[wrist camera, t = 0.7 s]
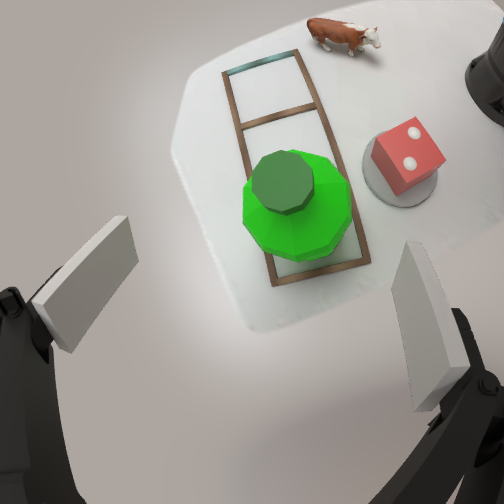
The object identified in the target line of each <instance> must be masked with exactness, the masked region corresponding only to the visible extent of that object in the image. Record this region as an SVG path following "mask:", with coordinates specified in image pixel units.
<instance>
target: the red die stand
mask: <svg viewBox="0 0 504 504" xmlns="http://www.w3.org/2000/svg"><path fill="white" fill-rule="evenodd" d="M445 161H446V159H445V158H444V156H443V155H442V153H441V152H440V150H439V149H438V147H437V146H436V144H435V143H434V141H433V140H432V138H431V137H430V135H429V134H428V133H427V131H426V130H425V128H424V127H423V126H422V124H421V123H420V122H419V120H418V119H417V118H416V117H414V118H412V119H410V120H408V121H407V122H405V123H403V124H401V125H399V126H397V127H395V128H393V129H391V130H389V131H385V132H382V133H380V134H378V135H377V136H375V137H374V138H373V139H372V140H371V141H370V142H369V144H368V145H367V147H366V149H365V152H364V156H363V162H362V169H363V174H364V178H365V181H366V183H367V185H368V187H369V188H370V189H371V191H372V192H373V193H374V194H375V195H376V196H377V197H378V198H379V199H381V200H382V201H384V202H386V203H387V204H390V205H392V206H397V207H411V206H414V205H417V204H419V203H421V202H422V201H423V200H425V199H426V198H427V197H428V196H429V195H430V194H431V193H432V191H433V189H434V187H435V185H436V182H437V174H438V172H437V169H438V168H439V167H440V166H441V165H442V164H443V163H444V162H445Z"/></svg>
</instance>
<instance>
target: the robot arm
mask: <svg viewBox="0 0 504 504" xmlns="http://www.w3.org/2000/svg"><path fill="white" fill-rule="evenodd" d="M465 80H466V84H467V88H468V90H469V92H470V94H471V96H472V98H473V99H474V101H475V102H476V104H477V105H478V106H479V107H480V108H481V110H482V111H483V112H484V113H485V114H486V115H487V116H489V117H490V118H491V119H492V120H494V121H495V122H497V123H499V124H500V125H503V126H504V18H503V23H502V25H501V27H500V29H499V31H498V32H497V34H496V36H495V38H494V40H493V42H492V44H491V46H490V48H489V49H488V51H486V52H485V53H483V54H481V55H480V56H478V57H476V58H475V59H473V60H472V61H471V63H470V64H469V66H468V68H467V70H466V74H465ZM138 261H139V260H138V257H137V253H136V249H135V245H134V241H133V237H132V232H131V228H130V224H129V220H128V216H115V217H114V218H113V219H112V220H110V221H109V222H108V223H107V224H106V225H105V226H104V227H103V228H102V229H101V230H99V232H97V233H96V234H95V235H94V236H93V237H92V238H91V239H90V240H89V241H88V242H87V243H86V244H85V245H84V246H83V247H82V248H81V249H80V250H79V251H78V252H77V253H76V254H75V255H74V256H73V257H72V258H71V259H70V260H69V261H68V262H67V263H66V264H65V265H63V266H62V267H60V268H58V269H57V270H56V271H55V272H54V273H53V274H52V275H51V276H50V278H49V279H48V280H47V281H46V282H45V284H43V285H42V286H41V287H40V288H39V289H38V290H37V292H36V293H35V294H34V295H33V296H32V297H31V298H30V299H29V301H28V302H27V303H25V301H24V299H23V298H22V296H21V294H20V292H19V290H18V289H17V288H16V287H8V288H6V289H4V290H3V291H2V292H0V504H86V502H85V500H84V499H83V498H82V497H81V496H80V494H79V493H78V491H77V489H76V486H75V483H74V479H73V475H72V472H71V468H70V464H69V460H68V455H67V451H66V446H65V442H64V437H63V432H62V426H61V420H60V414H59V407H58V399H57V390H56V382H55V369H54V353H53V348H52V346H51V342H52V341H53V340H54V341H55V342H56V344H57V345H58V347H59V348H60V349H62V350H64V351H67V352H69V353H72V352H73V351H74V349H75V348H76V347H77V345H78V343H79V342H80V341H81V339H82V338H83V336H84V335H85V333H86V332H87V330H88V329H89V327H90V326H91V325H92V323H93V322H94V320H95V319H96V318H97V316H98V315H99V313H100V312H101V311H102V309H103V308H104V306H105V305H106V304H107V302H108V301H109V300H110V298H111V297H112V296H113V294H114V293H115V292H116V290H117V289H118V287H119V286H120V285H121V284H122V282H123V281H124V280H125V278H126V277H127V276H128V274H129V273H130V272H131V271H132V269H133V268H134V267H135V265H136V264H137V263H138ZM391 291H392V294H393V299H394V303H395V307H396V312H397V316H398V320H399V325H400V330H401V335H402V340H403V345H404V350H405V356H406V362H407V368H408V375H409V381H410V389H411V396H412V404H413V412H425V411H432V410H433V409H434V408H435V407H436V406H437V405H438V404H440V409H441V412H440V413H439V414H438V415H437V416H436V417H435V418H434V419H433V420H432V421H431V422H430V423H429V424H428V426H430V425H431V426H430V427H429V429H428V430H427V432H426V433H425V435H424V436H423V438H422V439H421V440H420V442H419V443H418V445H417V446H416V447H415V449H414V450H413V451H412V453H411V454H410V455H409V457H408V458H407V459H406V461H405V462H404V463H403V465H402V466H401V467H400V468H399V470H398V471H397V472H396V473H395V475H394V476H393V477H392V478H391V479H390V480H389V481H388V483H387V484H386V485H385V486H384V487H383V488H382V490H381V491H380V492H379V493H378V494H377V495H376V496H375V497H374V498H373V499H372V500H371V501H370V502H369V504H446V502H447V501H448V499H449V498H450V496H451V495H452V493H453V492H454V490H455V489H456V487H457V485H458V484H459V482H460V480H461V479H462V477H463V475H464V477H463V480H462V483H461V486H460V488H459V491H458V494H457V496H456V499H455V501H454V504H504V387H503V386H501V385H500V382H499V380H498V378H497V377H496V376H495V375H494V374H493V373H491V372H489V371H486V370H485V367H484V364H483V361H482V358H481V355H480V352H479V349H478V346H477V344H476V341H475V339H474V335H473V332H472V331H471V327H470V325H469V322H468V320H467V318H466V316H465V315H464V314H463V313H462V311H461V310H460V309H459V308H450V305H449V303H448V300H447V298H446V295H445V293H444V291H443V288H442V286H441V284H440V281H439V279H438V277H437V275H436V272H435V270H434V268H433V266H432V264H431V261H430V259H429V257H428V255H427V253H426V251H425V249H424V247H423V245H422V243H419V242H411V241H406V244H405V248H404V251H403V254H402V258H401V261H400V264H399V267H398V270H397V273H396V276H395V279H394V282H393V285H392V288H391Z"/></svg>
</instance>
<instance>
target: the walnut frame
mask: <svg viewBox="0 0 504 504" xmlns="http://www.w3.org/2000/svg"><path fill="white" fill-rule="evenodd" d="M290 56H295V58H296V60H297V62H298V64H299V67H300V69H301V71H302V74H303V76H304V78H305V81H306V83H307V85H308V88H309V90H310V93H311V95H312V98H313V100H314V102H313V103H309V104H305V105H302V106H298V107H294V108H291V109H287V110H284V111H280V112H277V113H273V114H270V115H267V116H264V117H260V118H257V119H254V120H251V121H248V122H245V123H242V124H241V123H240V119H239V115H238V111H237V108H236V104H235V100H234V96H233V92H232V88H231V84H230V80H229V77H228V76H230V75H232V74H235V73H238V72H241V71H244V70H247V69H250V68H253V67H256V66H259V65H263V64H266V63H269V62H272V61H276V60H279V59H283V58H287V57H290ZM222 77H223V81H224V85H225V89H226V93H227V97H228V101H229V105H230V110H231V114H232V118H233V122H234V126H235V130H236V134H237V139H238V143H239V147H240V151H241V155H242V160H243V164H244V168H245V172H246V176H247V181H248V180H249V179H250V177H251V176H252V167H251V163H250V159H249V155H248V151H247V147H246V143H245V139H244V135H243V131H242V130H245V129H248V128H251V127H254V126H258V125H261V124H264V123H267V122H270V121H274V120H277V119H281V118H284V117H287V116H291V115H295V114H298V113H302V112H306V111H310V110H313V109H317V110H318V113H319V116H320V118H321V121H322V124H323V126H324V129H325V132H326V135H327V137H328V140H329V143H330V146H331V149H332V152H333V155H334V158H335V161H336V164H337V167H338V170H339V172H340V173H341V174H342V175H343V177H344V178H345V179H346V180H347V181H348V183H349V184H350V182H349V178H348V175H347V172H346V169H345V166H344V163H343V160H342V157H341V154H340V151H339V148H338V146H337V143H336V140H335V137H334V135H333V132H332V129H331V126H330V124H329V121H328V119H327V116H326V113H325V111H324V108H323V106H322V103H321V101H320V98H319V96H318V94H317V91H316V89H315V86H314V84H313V82H312V79H311V77H310V75H309V73H308V70H307V68H306V66H305V64H304V62H303V59H302V57H301V55H300V53H299V51H298V49H295V50H291V51H287V52H283V53H280V54H276V55H273V56H269V57H266V58H263V59H259V60H256V61H253V62H250V63H247V64H244V65H241V66H238V67H235V68H233V69H230V70H227V71H224V72H222ZM350 191H351V209H352V217H353V220H354V224H355V228H356V232H357V235H358V239H359V243H360V247H361V251H362V256H363V258H359V259H355V260H351V261H348V262H344V263H340V264H335V265H331V266H327V267H323V268H319V269H315V270H311V271H307V272H303V273H298V274H294V275H290V276H286V277H281V278H277V274H276V269H275V265H274V260H273V256H272V254H270V253H267V252H264V254H265V259H266V263H267V267H268V272H269V276H270V281H271V285H272V286H277V285H281V284H286V283H290V282H294V281H299V280H303V279H307V278H311V277H316V276H320V275H324V274H328V273H332V272H336V271H340V270H344V269H348V268H352V267H356V266H360V265H364V264H368V263H371V258H370V254H369V250H368V246H367V242H366V238H365V234H364V230H363V226H362V223H361V219H360V215H359V212H358V208H357V205H356V201H355V198H354V195H353V191H352V188H351V185H350Z"/></svg>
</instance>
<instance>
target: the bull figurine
mask: <svg viewBox="0 0 504 504" xmlns="http://www.w3.org/2000/svg"><path fill="white" fill-rule="evenodd" d="M307 27H308V29H309V31H310V33H311V35H312V38H313V40H314V41H315V42H316V43H317V44H319V42H320V43H321V44H322V46H323V49H326V51H327V52H331V51H332V50H331V49H330V47H328V46H327V45H326V44H325V38H328V39H330V40H331V41H333V42H336V43H346V44H349V49H350V50H349V52H348V54H349V55H350V57H354V56H355V55H354V53H353V51H354V50H355V48H356V47H357V46H358V47H357V49H359V50H360V51H364V48H363V47H362V46H363V45H366V44H371V45H373V47H374V48H379V47H381V44H380V43H379V41H378V35H377V33H376V30H377V27H376V28H375V29H374V30H373V29H370V30H369V29H368V28H366V27H365V26H363V25H357V24H353V23H345V22H340V21H334V20H330V19H323V18H313V19H309V20H308V21H307ZM317 37H318V38H317Z"/></svg>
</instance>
